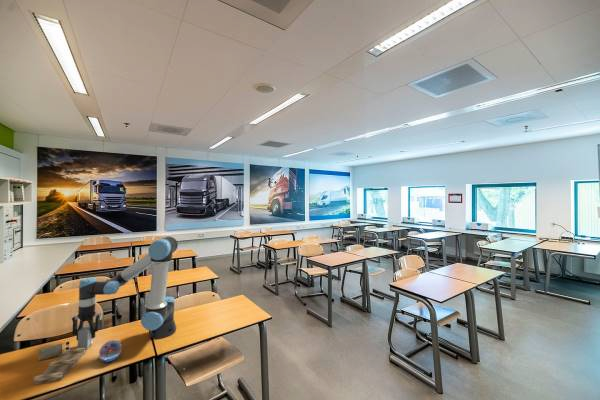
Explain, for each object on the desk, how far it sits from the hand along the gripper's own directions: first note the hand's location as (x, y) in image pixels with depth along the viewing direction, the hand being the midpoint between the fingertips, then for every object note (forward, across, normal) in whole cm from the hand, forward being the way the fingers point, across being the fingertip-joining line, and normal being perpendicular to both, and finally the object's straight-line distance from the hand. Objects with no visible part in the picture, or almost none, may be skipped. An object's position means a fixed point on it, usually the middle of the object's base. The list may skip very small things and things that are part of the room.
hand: (85, 344), depth 145 cm
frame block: (+1, 0, 0) cm, 1 cm away
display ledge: (+2, +2, +18) cm, 18 cm away
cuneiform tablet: (+2, +12, +6) cm, 13 cm away
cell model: (+2, -19, +17) cm, 25 cm away
